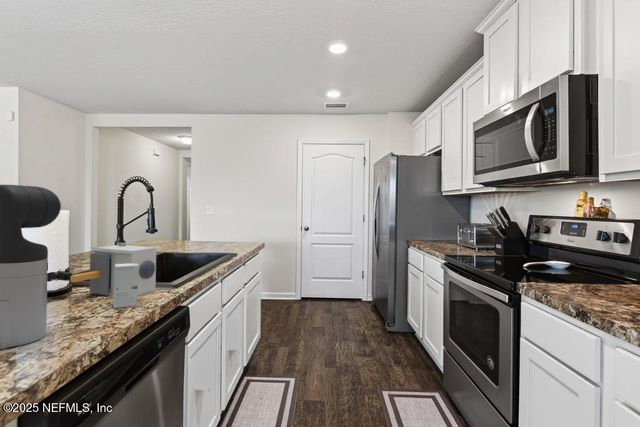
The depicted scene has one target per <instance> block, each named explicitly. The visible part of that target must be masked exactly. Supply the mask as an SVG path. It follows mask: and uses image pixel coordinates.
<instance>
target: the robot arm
mask: <svg viewBox="0 0 640 427" xmlns="http://www.w3.org/2000/svg"><path fill="white" fill-rule="evenodd" d="M61 208H62V203H61V200H60V199H59V197H58V196H57V195H56V193H55V192H53V191H52V190H50V189H47V188H45V187H41V186H34V185H18V184H0V350H5V349H7V348H11V347H17V346H18V347H19V346H22V345H23V346H24V345H26V344H30V343H33V342H36V341H38V340H41V339H42V338H44V337H46V336H47V326H48V325H47V324H48V323H47V319H48V282H52V281H53V280H54V282H55V281H56V282H57V281H66V282H67V281H70V277H71V276H72V275H73V273H72V272H71V267H69V266H67V267H68V268H67V267H66V268H67V269H65V271H61V270H62V269H61V268H59V269H60V270H59V271H57V272H50V273H47V271H48V263H49V258H48V257H49V250H48V246H46V245H45V244H42V243H36V242H32V241H30V240H28V239H26V238H25V237H24V235H23V231H22V229H35V228H43V227H46V226H49V225H50V224H52V223H53V222H54V221H55V220H56V219H57V218H58V217H59V215H60V213H61V210H62V209H61Z"/></svg>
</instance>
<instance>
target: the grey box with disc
mask: <svg viewBox="0 0 640 427" xmlns="http://www.w3.org/2000/svg"><path fill="white" fill-rule="evenodd" d="M91 253H101V254H110V261H109V295H107V296H110V297H114V275H115V264H131V263H138V265H139V270H138V290H137V297H138V296H142V295H146V294H149V293H152V292H155V291H156V278H157V277H156V272H157V247H152V246H142V245H140V246H139V245H129V244H127V243H126V242H118V244H117V245H105V246H97V247H94V248H93V249H92V250H91Z"/></svg>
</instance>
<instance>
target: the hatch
mask: <svg viewBox="0 0 640 427" xmlns="http://www.w3.org/2000/svg"><path fill="white" fill-rule="evenodd" d="M89 255H90V258H89V260H90V261H89V272H83V273H77V274H72V276H71V277H70V280H69V282H70V283H78V282H82V281H88V280H89V294H94V295H101V296H108V295H109V261H110V254H101V253H94V252H90V254H89Z"/></svg>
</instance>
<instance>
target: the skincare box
mask: <svg viewBox="0 0 640 427" xmlns="http://www.w3.org/2000/svg"><path fill="white" fill-rule="evenodd" d="M138 270H139V265H138V263H131V264H115V275H114V296H112V297H113V300H112V308H113V309H116V308H129V307H136V306H137V304H138V296H137V290H138Z"/></svg>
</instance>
